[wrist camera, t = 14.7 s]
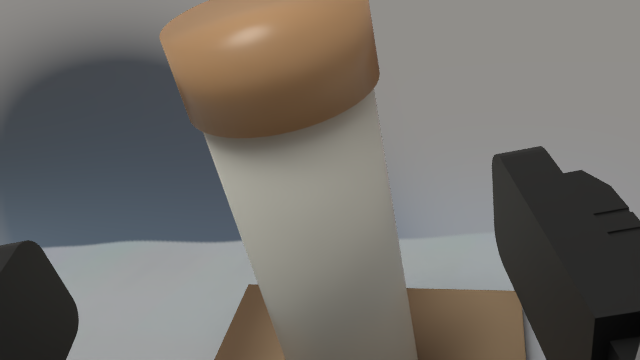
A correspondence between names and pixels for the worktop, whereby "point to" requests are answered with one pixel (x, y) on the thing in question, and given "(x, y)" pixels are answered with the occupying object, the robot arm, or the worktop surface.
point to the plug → (301, 166)
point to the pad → (427, 320)
